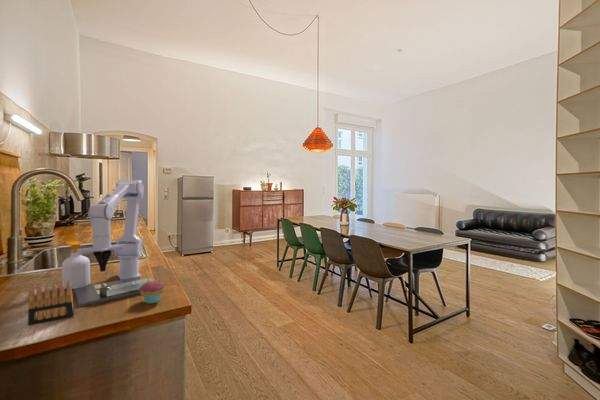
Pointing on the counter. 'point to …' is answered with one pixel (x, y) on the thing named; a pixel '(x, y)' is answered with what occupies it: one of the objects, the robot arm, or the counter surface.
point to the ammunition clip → (50, 304)
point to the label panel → (92, 293)
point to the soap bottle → (75, 264)
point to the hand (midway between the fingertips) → (102, 270)
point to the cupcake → (152, 290)
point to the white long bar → (122, 287)
